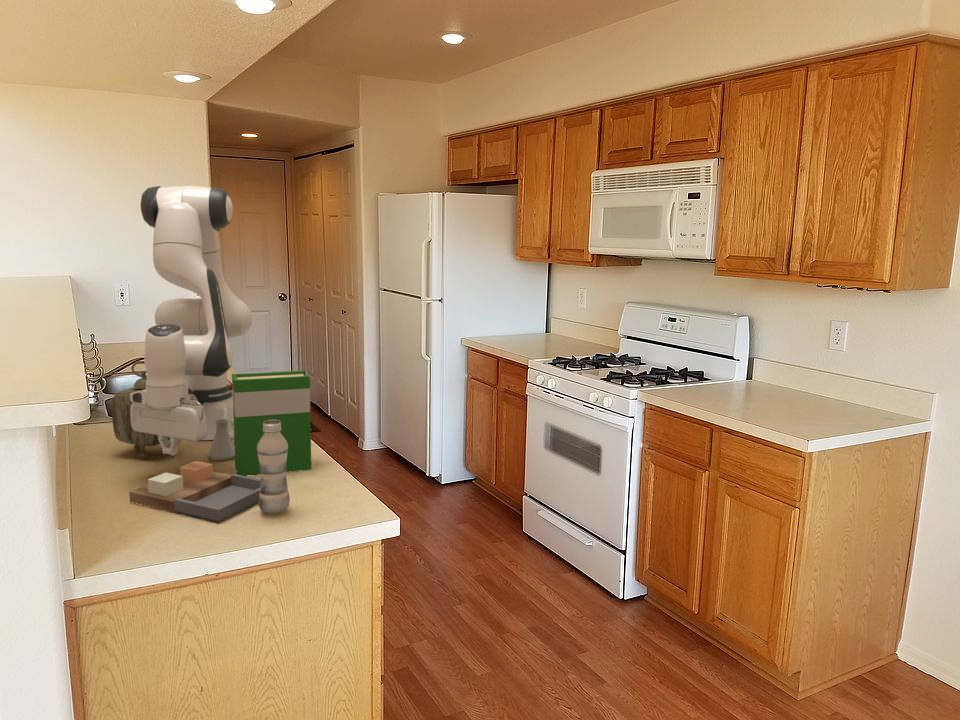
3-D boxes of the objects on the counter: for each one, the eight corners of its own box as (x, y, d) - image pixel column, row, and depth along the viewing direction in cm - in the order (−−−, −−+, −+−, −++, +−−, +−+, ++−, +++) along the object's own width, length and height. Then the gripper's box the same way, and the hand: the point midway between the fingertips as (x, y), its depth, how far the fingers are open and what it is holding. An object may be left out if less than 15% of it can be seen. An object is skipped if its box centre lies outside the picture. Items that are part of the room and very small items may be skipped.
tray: (234, 486, 171) (233, 473, 171) (275, 494, 167) (275, 482, 166) (175, 513, 155) (174, 499, 155) (219, 523, 151) (218, 510, 150)
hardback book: (306, 460, 191) (304, 370, 186) (311, 469, 184) (309, 376, 179) (235, 467, 184) (231, 374, 180) (237, 477, 177) (234, 380, 173)
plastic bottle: (295, 507, 160) (293, 419, 156) (280, 519, 153) (278, 427, 150) (268, 504, 161) (266, 416, 157) (252, 516, 155) (249, 425, 151)
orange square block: (196, 472, 172) (195, 460, 172) (212, 476, 170) (212, 464, 170) (180, 479, 168) (179, 467, 167) (196, 483, 166) (196, 470, 165)
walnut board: (191, 477, 176) (191, 467, 176) (234, 486, 171) (234, 475, 171) (130, 502, 160) (129, 491, 160) (175, 513, 155) (174, 502, 155)
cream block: (166, 485, 164) (165, 472, 163) (183, 488, 162) (182, 476, 162) (148, 492, 160) (147, 479, 159) (165, 496, 158) (165, 483, 157)
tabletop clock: (182, 453, 194) (177, 360, 189) (159, 463, 185) (153, 366, 180) (136, 447, 197) (130, 356, 193) (111, 457, 189) (104, 362, 184)
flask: (228, 451, 197) (226, 415, 195) (243, 457, 192) (242, 420, 190) (203, 457, 191) (201, 420, 189) (218, 463, 187) (216, 425, 185)
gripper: (212, 398, 167) (214, 456, 169) (146, 388, 175) (149, 444, 177) (191, 404, 161) (194, 464, 164) (124, 393, 169) (127, 451, 171)
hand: (170, 454), depth 170 cm, fingers closed
